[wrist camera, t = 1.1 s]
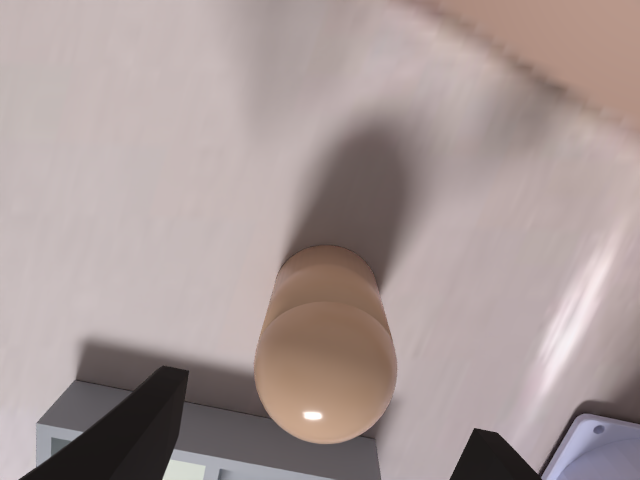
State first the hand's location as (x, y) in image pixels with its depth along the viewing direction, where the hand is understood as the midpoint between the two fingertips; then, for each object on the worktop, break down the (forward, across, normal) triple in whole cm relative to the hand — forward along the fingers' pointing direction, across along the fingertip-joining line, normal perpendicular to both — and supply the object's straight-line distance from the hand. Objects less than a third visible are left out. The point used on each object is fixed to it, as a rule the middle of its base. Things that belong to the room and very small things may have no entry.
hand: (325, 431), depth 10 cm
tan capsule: (+8, 0, 0) cm, 8 cm away
